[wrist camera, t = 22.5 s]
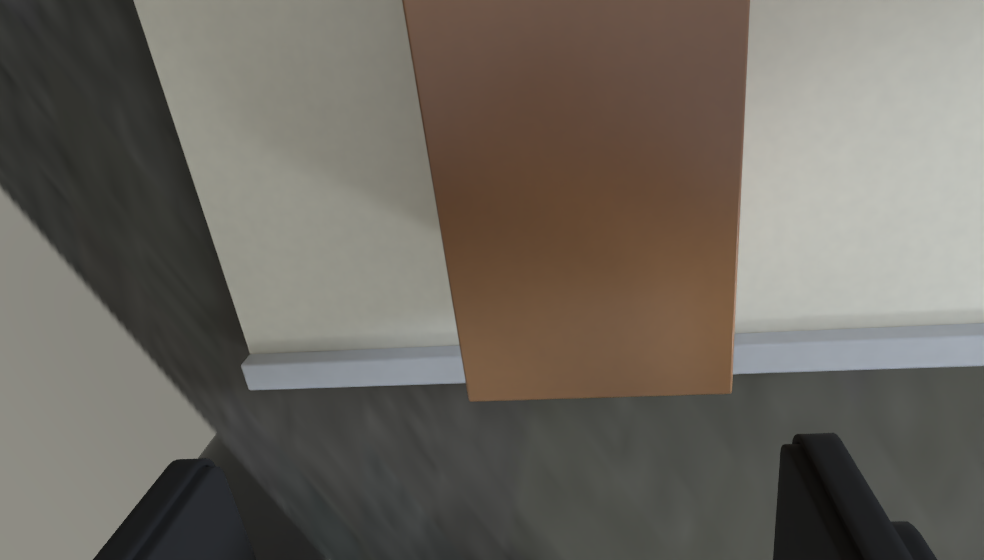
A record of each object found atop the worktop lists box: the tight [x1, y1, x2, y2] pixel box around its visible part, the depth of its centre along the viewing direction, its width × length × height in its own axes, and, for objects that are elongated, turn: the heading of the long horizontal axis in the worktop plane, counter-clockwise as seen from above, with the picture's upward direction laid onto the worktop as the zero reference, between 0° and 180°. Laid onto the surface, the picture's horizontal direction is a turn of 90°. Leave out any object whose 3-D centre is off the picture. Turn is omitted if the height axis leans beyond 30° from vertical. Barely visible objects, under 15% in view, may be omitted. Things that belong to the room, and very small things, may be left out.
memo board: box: [134, 0, 984, 390], centre depth 16 cm, size 22×18×2 cm
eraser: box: [402, 0, 750, 402], centre depth 13 cm, size 11×5×6 cm, turn 7°
